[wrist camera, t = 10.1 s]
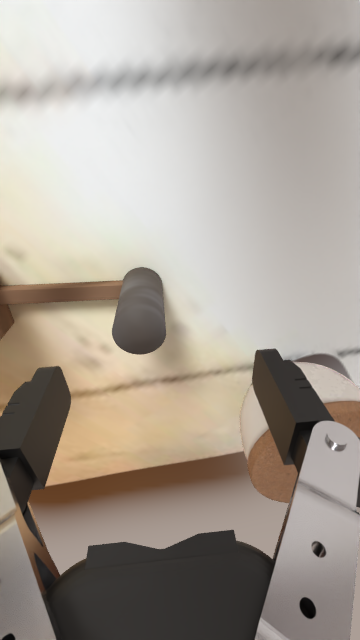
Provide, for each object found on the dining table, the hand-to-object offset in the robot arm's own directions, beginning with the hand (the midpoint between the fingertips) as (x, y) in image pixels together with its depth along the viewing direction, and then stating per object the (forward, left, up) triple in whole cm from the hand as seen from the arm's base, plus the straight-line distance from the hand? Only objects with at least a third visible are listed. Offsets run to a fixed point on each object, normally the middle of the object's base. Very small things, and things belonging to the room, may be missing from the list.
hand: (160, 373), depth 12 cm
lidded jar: (-11, +11, -10) cm, 19 cm away
